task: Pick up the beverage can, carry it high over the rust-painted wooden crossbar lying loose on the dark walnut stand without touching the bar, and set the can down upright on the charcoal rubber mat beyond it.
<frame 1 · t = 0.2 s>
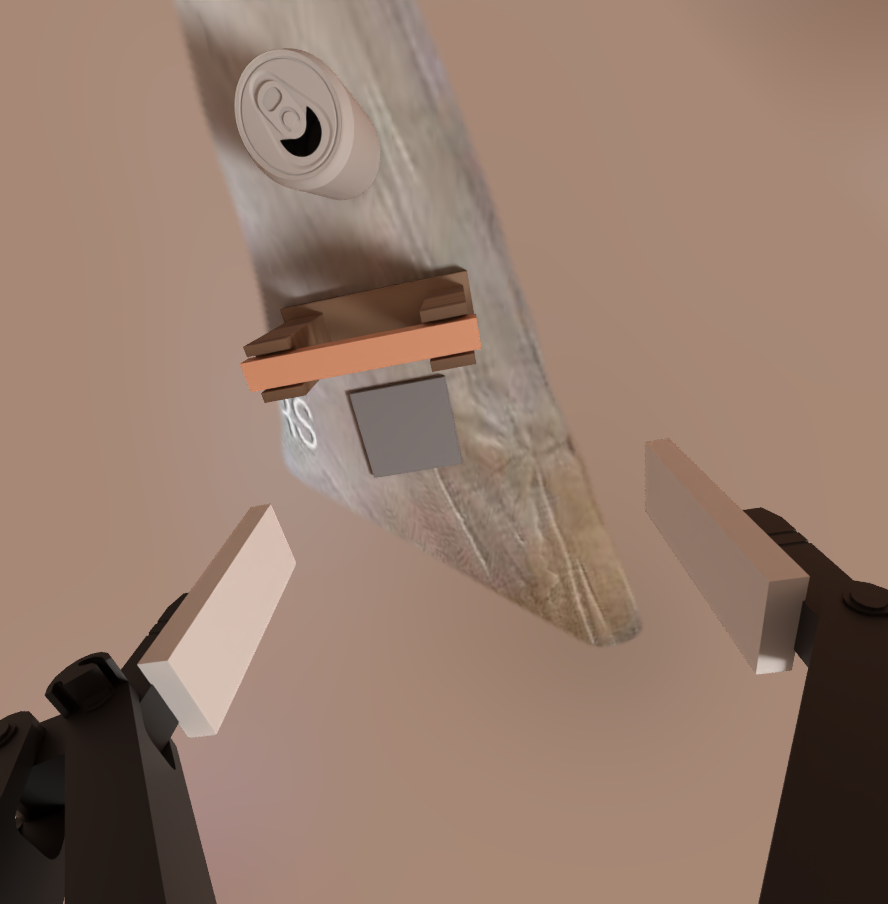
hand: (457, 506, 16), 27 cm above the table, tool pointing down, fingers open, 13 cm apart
rubber mat: (408, 428, 44), on the table
walnut stand: (382, 324, 40), on the table
crossbar: (363, 350, 32), point 9 cm above the table, touching walnut stand
beverage can: (340, 152, 35), on the table
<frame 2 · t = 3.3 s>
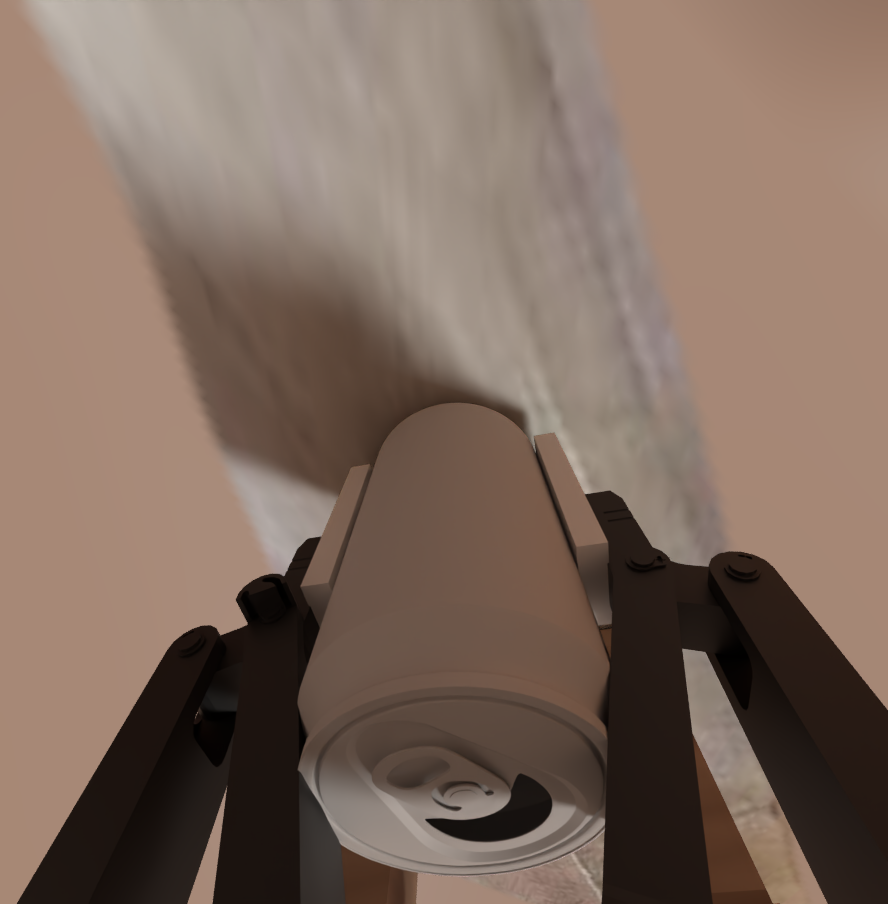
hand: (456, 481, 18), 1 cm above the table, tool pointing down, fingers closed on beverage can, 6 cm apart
walnut stand: (501, 683, 24), on the table
beverage can: (456, 467, 19), on the table, touching gripper
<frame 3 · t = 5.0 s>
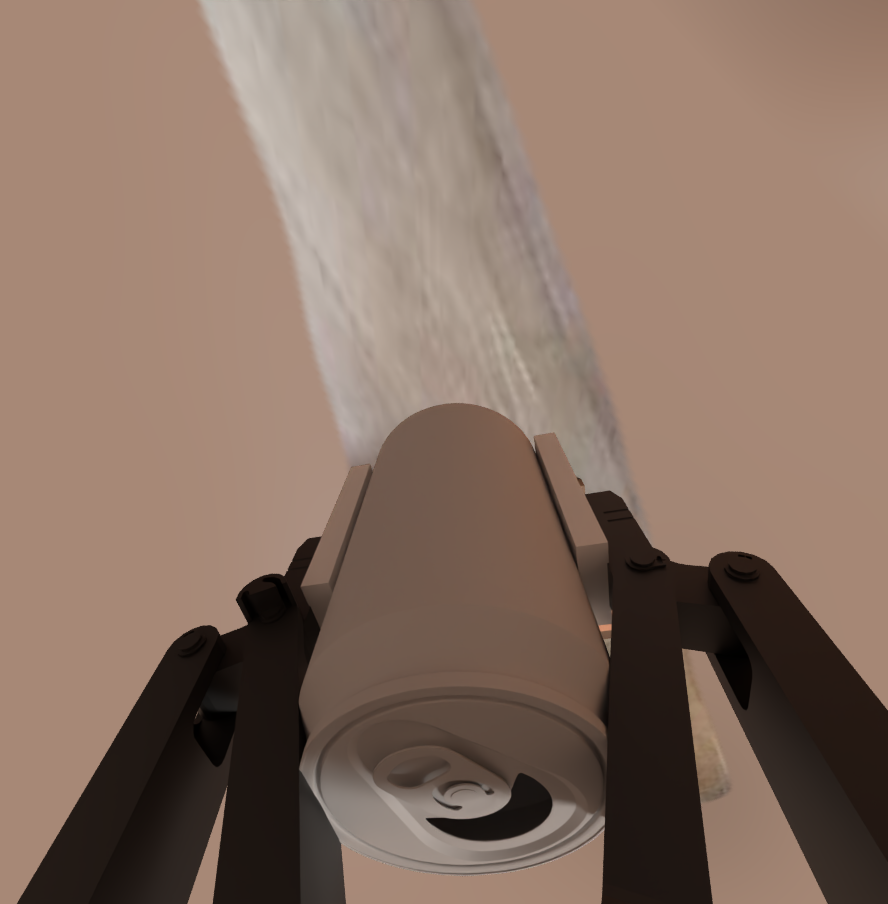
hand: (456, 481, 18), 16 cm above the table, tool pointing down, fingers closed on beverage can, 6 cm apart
beverage can: (456, 467, 19), point 15 cm above the table, touching gripper
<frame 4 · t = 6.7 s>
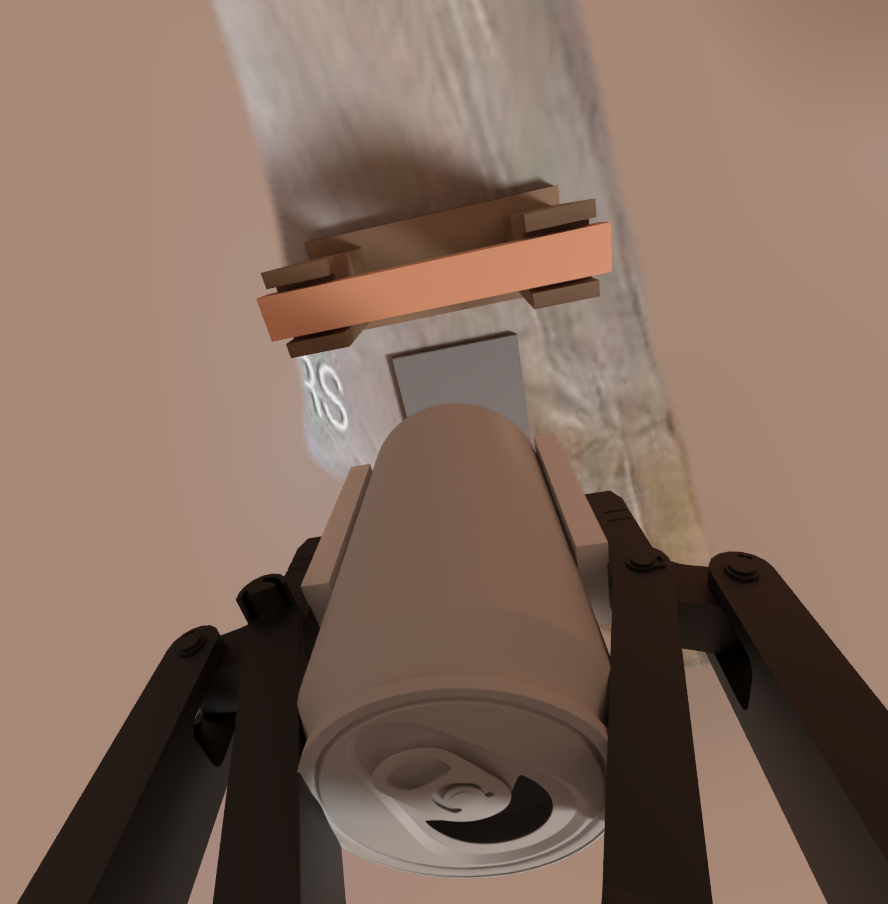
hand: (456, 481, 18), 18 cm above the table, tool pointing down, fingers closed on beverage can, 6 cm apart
rubber mat: (464, 403, 35), on the table
walnut stand: (437, 264, 31), on the table
crossbar: (432, 281, 22), point 9 cm above the table, touching walnut stand
beverage can: (456, 467, 19), point 16 cm above the table, touching gripper
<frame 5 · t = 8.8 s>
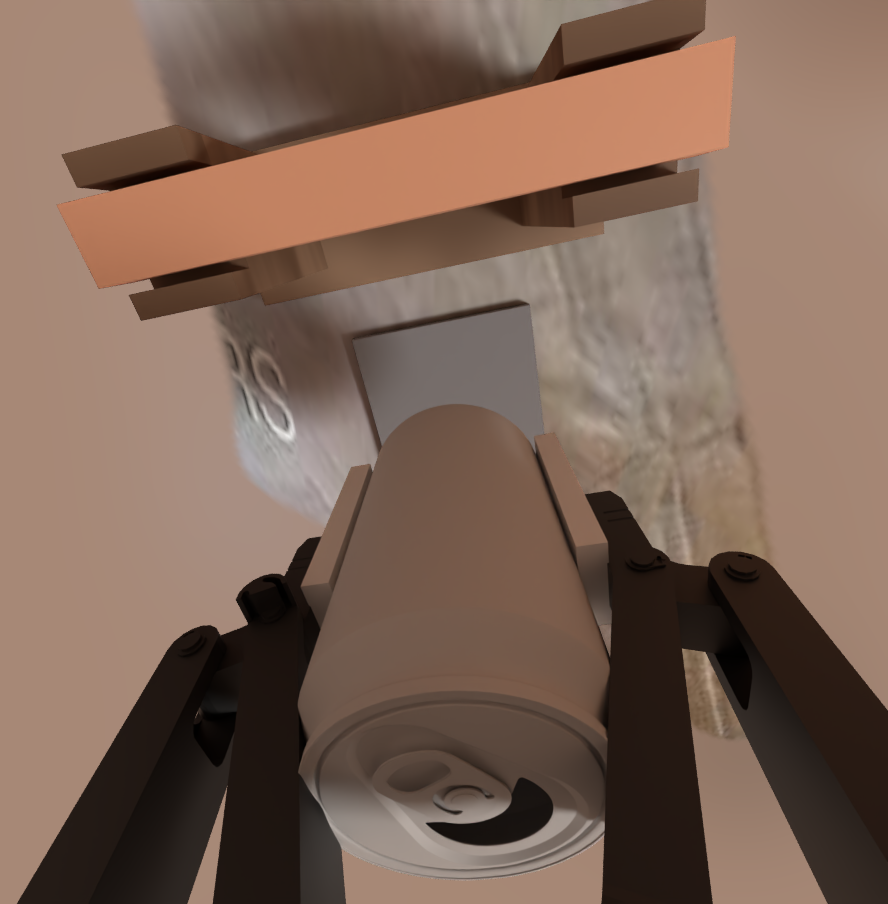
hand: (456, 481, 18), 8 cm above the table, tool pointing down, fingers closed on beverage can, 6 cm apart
rubber mat: (455, 403, 25), on the table
walnut stand: (415, 199, 21), on the table
crossbar: (388, 182, 12), point 9 cm above the table, touching walnut stand
beverage can: (456, 468, 19), point 7 cm above the table, touching gripper
when the fingers open (3 cm above the table, at t = 10.2 s): beverage can drops 1 cm, resting on rubber mat.
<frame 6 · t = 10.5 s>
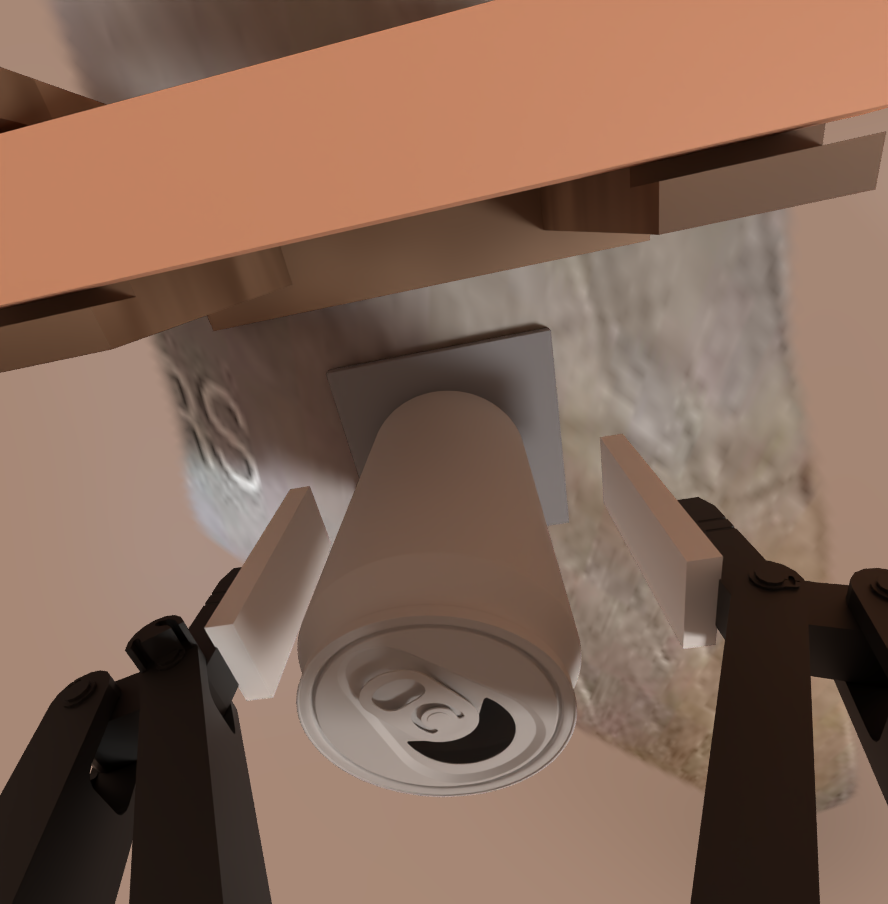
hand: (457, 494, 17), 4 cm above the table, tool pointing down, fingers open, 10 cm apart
rubber mat: (456, 448, 20), on the table
walnut stand: (404, 195, 16), on the table
crossbar: (348, 160, 8), point 9 cm above the table, touching walnut stand
beverage can: (448, 452, 20), resting on rubber mat
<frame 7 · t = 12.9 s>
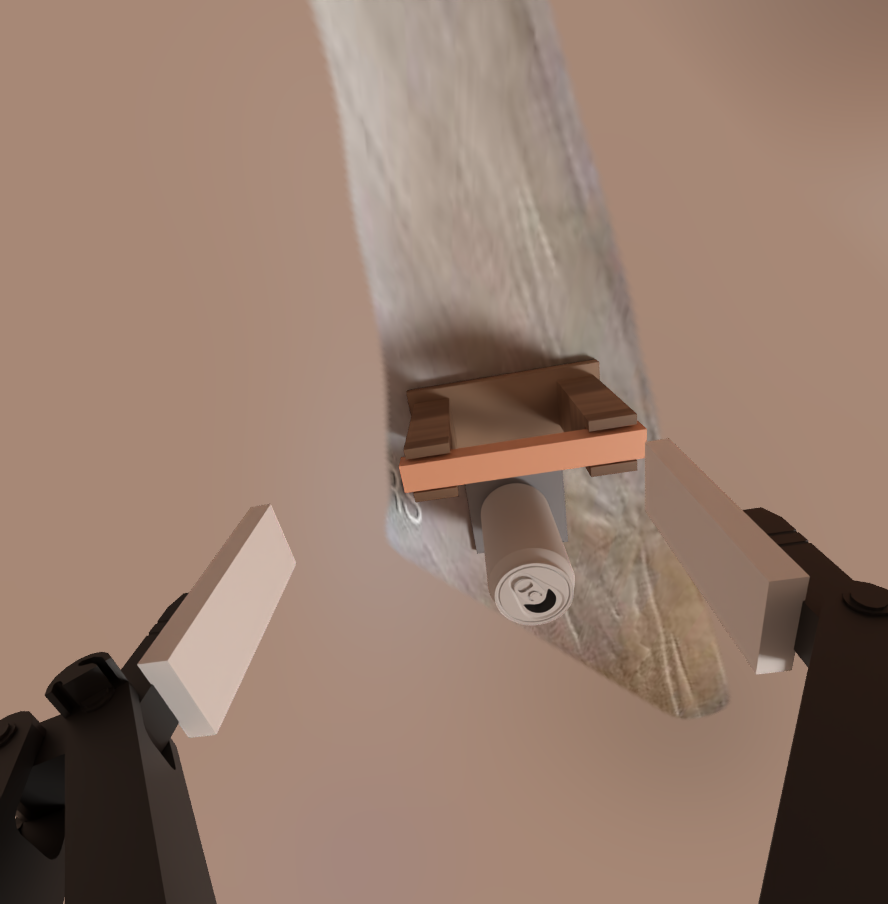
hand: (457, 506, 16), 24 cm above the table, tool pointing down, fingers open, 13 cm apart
rubber mat: (516, 506, 44), on the table
walnut stand: (504, 408, 40), on the table
crossbar: (518, 452, 31), point 9 cm above the table, touching walnut stand
beverage can: (513, 507, 44), resting on rubber mat
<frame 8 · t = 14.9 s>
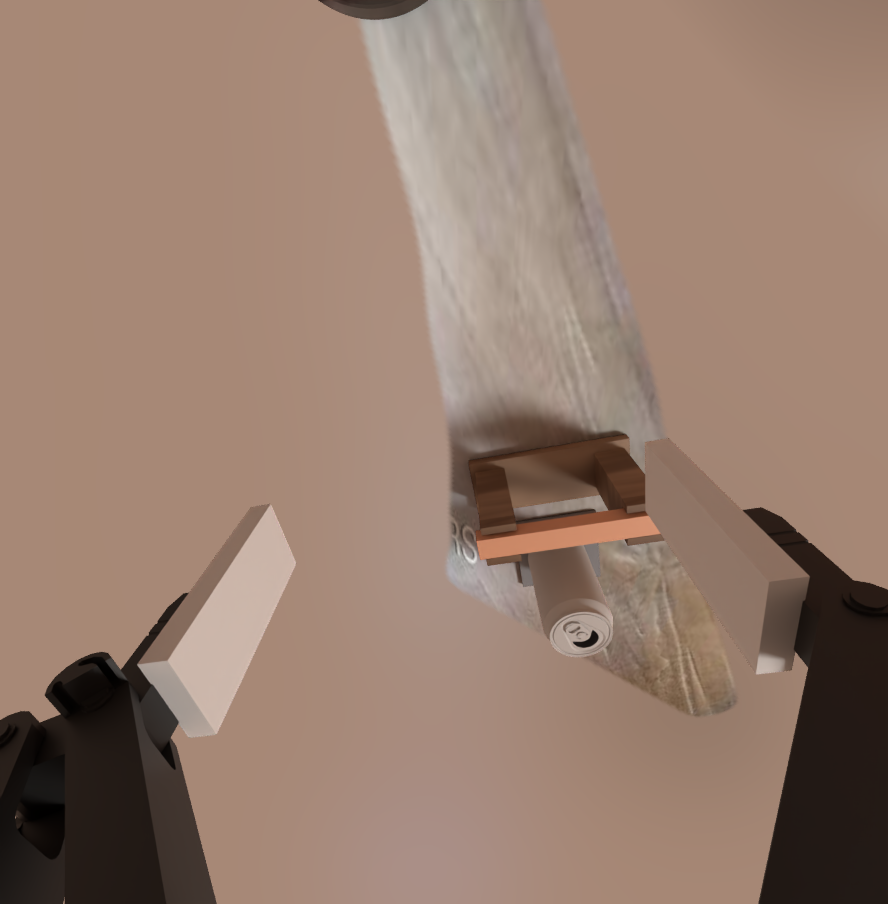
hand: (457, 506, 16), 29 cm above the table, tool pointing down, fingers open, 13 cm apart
rubber mat: (557, 548, 52), on the table
walnut stand: (548, 473, 48), on the table
crossbar: (569, 526, 39), point 9 cm above the table, touching walnut stand
beverage can: (554, 550, 52), resting on rubber mat
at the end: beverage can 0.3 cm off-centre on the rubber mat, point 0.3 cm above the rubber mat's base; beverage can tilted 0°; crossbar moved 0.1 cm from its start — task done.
